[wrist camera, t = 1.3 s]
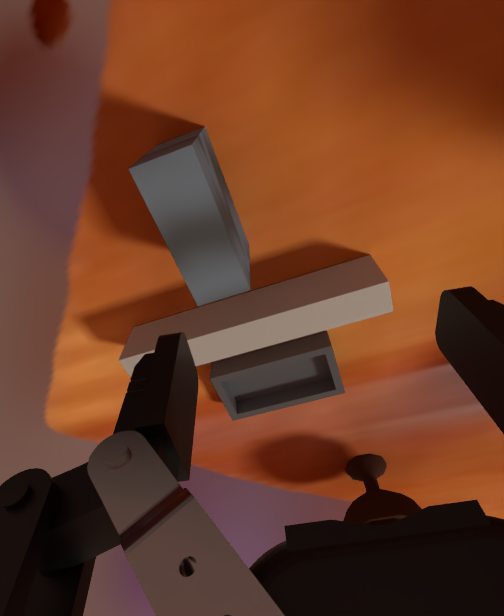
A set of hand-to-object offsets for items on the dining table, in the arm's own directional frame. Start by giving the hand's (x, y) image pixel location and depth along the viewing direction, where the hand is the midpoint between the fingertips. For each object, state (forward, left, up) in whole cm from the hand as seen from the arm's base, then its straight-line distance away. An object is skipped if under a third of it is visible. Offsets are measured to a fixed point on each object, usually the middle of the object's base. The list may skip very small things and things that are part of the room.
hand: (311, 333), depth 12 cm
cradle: (-11, +17, -21) cm, 29 cm away
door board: (-5, +11, -21) cm, 24 cm away
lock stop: (+4, +4, -21) cm, 22 cm away
